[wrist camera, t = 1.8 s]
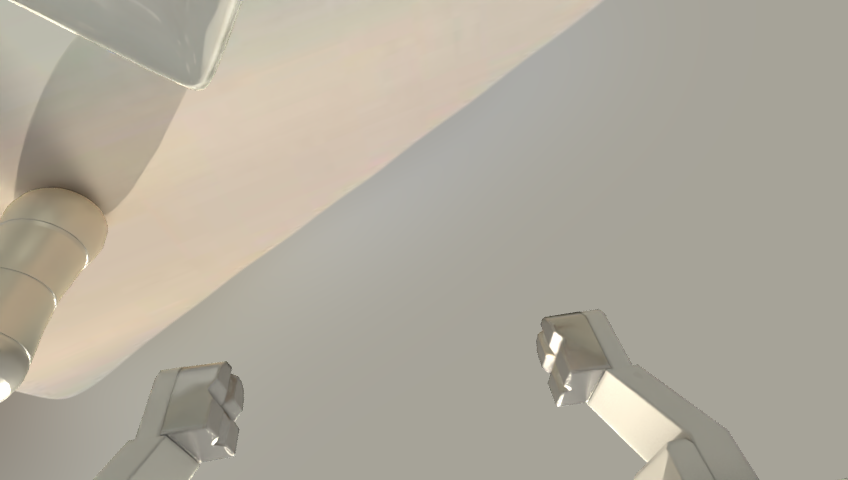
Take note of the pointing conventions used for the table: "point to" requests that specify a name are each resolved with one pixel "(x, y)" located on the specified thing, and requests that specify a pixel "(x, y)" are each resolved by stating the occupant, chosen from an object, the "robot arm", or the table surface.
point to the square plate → (151, 32)
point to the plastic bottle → (40, 269)
